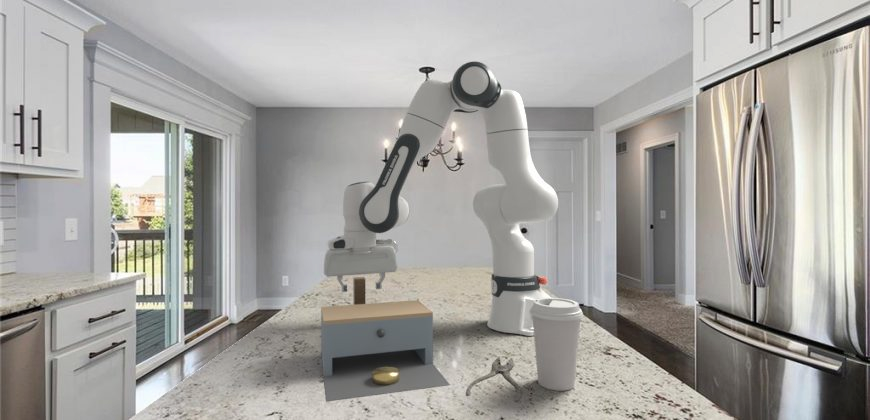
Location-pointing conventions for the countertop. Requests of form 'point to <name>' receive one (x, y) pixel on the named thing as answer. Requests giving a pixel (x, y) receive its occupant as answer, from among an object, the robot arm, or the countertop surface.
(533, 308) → the coffee cup
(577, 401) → the countertop surface
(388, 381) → the token
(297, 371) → the countertop surface
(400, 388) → the mat
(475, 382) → the pliers
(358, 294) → the sweep tool
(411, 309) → the cabinet
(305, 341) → the countertop surface
